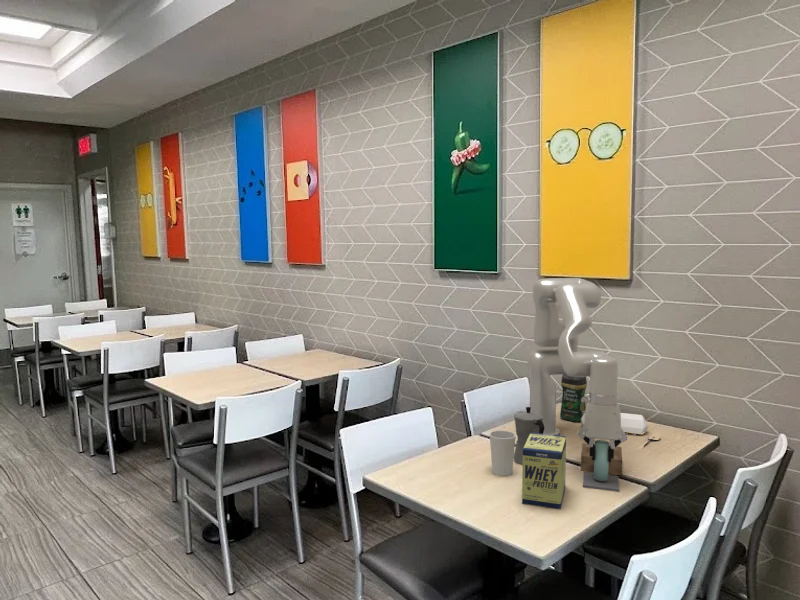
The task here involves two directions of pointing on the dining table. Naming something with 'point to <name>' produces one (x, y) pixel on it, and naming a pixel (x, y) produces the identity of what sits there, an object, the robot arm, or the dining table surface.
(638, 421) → the white butter dish
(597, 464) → the peg
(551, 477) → the protein box
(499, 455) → the cup
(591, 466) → the pocket block
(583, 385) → the coffee jar
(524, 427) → the coffeepot
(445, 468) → the dining table surface
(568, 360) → the robot arm
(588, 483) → the mat
